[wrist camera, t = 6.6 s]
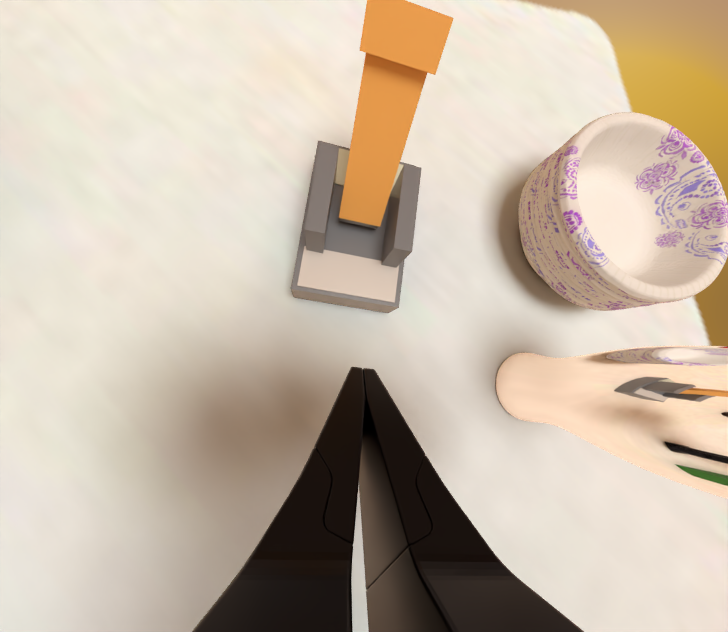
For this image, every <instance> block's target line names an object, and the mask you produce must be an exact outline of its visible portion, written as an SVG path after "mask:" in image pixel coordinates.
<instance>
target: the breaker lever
mask: <svg viewBox="0 0 728 632" xmlns="http://www.w3.org/2000/svg"><path fill="white" fill-rule="evenodd" d="M452 21H453V18H452V17H449V16H447V15H444V14H441V13H438V12H436V11H433V10H430V9H427V8H424V7H422V6H419V5H416V4H413V3H411V2H408V1H405V0H367V5H366V12H365V19H364V25H363V32H362V38H361V45H360V51H363V52H366V56H365V62H364V68H363V74H362V80H361V86H360V92H359V98H358V104H357V110H356V116H355V122H354V128H353V134H352V140H351V146H350V153H349V159H348V165H347V171H346V177H345V183H344V189H343V195H342V201H341V207H340V213H339V218H340V221H343V222H348V223H352V224H357V225H361V226H366V227H371V228H375V229H377V228H378V226H379V227H380V225H381V222H382V219H383V215H384V212H385V209H386V206H387V202H388V199H389V196H390V193H391V189H392V186H393V183H394V179H395V176H396V173H397V170H398V166H399V163H400V160H401V157H402V153H403V150H404V147H405V144H406V140H407V137H408V134H409V130H410V127H411V124H412V121H413V117H414V114H415V111H416V108H417V104H418V101H419V98H420V94H421V91H422V88H423V85H424V81H425V78H426V75H427V72H428V73H431V74H434V75H435V74H436V71H437V68H438V64H439V61H440V58H441V55H442V52H443V49H444V46H445V43H446V40H447V37H448V34H449V31H450V27H451V24H452Z"/></svg>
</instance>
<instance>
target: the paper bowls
mask: <svg viewBox="0 0 728 632" xmlns="http://www.w3.org/2000/svg"><path fill="white" fill-rule="evenodd" d="M520 198H521V200H520V202H519V210H518V211H519V215H518V217H519V229H520V234H521V243H522V247H523V251H524V253H525V256H526V258H527V260H528V262H529V263H530V265H531V266H532V268H533V269H534V270H535V271H536V273H537V274H538V275H539V276H540V277H541V278H543V279H544V281H545V282H546V283H547V284H548V285H549V286H550V287H551V288H552V289H553V290H554V291H555V292H556V293H557V294H559V295H561V296H562V297H563V298H564V299H566V300H568V301H569V302H571V303H574V304H577V305H579V306H582V307H585V308H589V309H594V310H602V311H609V310H619V309H626V308H632V307H640V306H649V305H653V304H657V303H665V302H674V301H679V300H683V299H686V298H689V297H691V296H693V295H695V294H697V293H699V292H700V291H702V290H704V289H705V288H706V287H708V285H710V284H711V283H712V282H713V281H714V280H715V278H716V277H717V276H718V274H719V273H720V271H721V269H722V268H723V266H724V264H725V261H726V258H727V256H728V204H727V200H726V196H725V194H724V191H723V188H722V185H721V183H720V181H719V179H718V177H717V174H716V173H715V171H714V170H713V168H712V166H711V164H710V163H709V161H708V160H707V158H706V157H705V156H704V155H703V153H702V152H701V151H700V150H699V149H698V148H697V146H696V145H695V144H694V143H693V142H692V141H691V140H690V139H689V138H688V137H686V135H684V134H683V133H682V132H681V131H679V130H677V129H676V128H674V127H673V126H671V125H670V124H668V123H666V122H664V121H662V120H659V119H656V118H653V117H650V116H648V115H644V114H639V113H632V112H623V113H615V114H610V115H606V116H603V117H601V118H598V119H596V120H594V121H592V122H590V123H589V124H587V125H586V126H584V127H583V128H582V129H581V130H580V131H579V132H578V133H577V134H575V135H574V136H573V137H572V138H571V139H570V140H568V141H567V142H566V143H565V144H564V145H563V146H562V147H561V148H559V149H558V150H557V151H556V152H555V153H553V154H552V155H550V156H549V157H548V158H547V159H545V160H544V161H543V162H542V163H541V164H540V165H539V166H538V167H537V168H535V169H534V170H533V172H532V173H531V174H530V176H529V178H528V180H527V182H526V183H525V185H524V187H523V190H522V194H521V197H520Z"/></svg>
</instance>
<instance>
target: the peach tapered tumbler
mask: <svg viewBox="0 0 728 632" xmlns="http://www.w3.org/2000/svg"><path fill="white" fill-rule="evenodd" d="M496 391H497V396H498V398H499V401H500V403H501V405H502V406H503V408H504V409H505V410H506V411H507V412H508V413H509V414H510V415H512V416H513V417H515V418H517V419H520V420H523V421H529V422H540V423H547V424H551V425H554V426H557V427H560V428H562V429H564V430H566V431H568V432H570V433H572V434H574V435H576V436H578V437H580V438H582V439H584V440H586V441H587V442H589V443H591V444H593V445H595V446H597V447H599V448H601V449H603V450H605V451H607V452H609V453H610V454H612V455H614V456H617V457H619V458H621V459H623V460H625V461H627V462H629V463H631V464H634V465H636V466H638V467H640V468H642V469H644V470H647V471H650V472H652V473H655V474H657V475H660V476H662V477H665V478H668V479H670V480H673V481H675V482H678V483H681V484H684V485H687V486H690V487H692V488H695V489H698V490H701V491H704V492H707V493H710V494H713V495H716V496H719V497H722V498H726V499H728V347H726V346H650V347H636V348H627V349H618V350H611V351H605V352H598V353H592V354H586V355H580V356H574V357H567V358H551V357H546V356H541V355H537V354H533V353H525V352H523V353H517V354H514V355H512V356H510V357H508V358H507V359H506V360H505V361H504V362H503V363H502V365H501V366H500V368H499V370H498V373H497V377H496Z"/></svg>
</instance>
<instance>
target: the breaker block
mask: <svg viewBox="0 0 728 632" xmlns="http://www.w3.org/2000/svg"><path fill="white" fill-rule="evenodd" d="M349 153H350V149H349V148H345V147H341V146H337V145H333V144H330V143H326V142H322V141H318V145H317V150H316V156H315V161H314V167H313V172H312V178H311V183H310V188H309V194H308V199H307V205H306V210H305V216H304V221H303V226H302V232H301V237H300V243H299V248H298V254H297V259H296V264H295V270H294V275H293V281H292V286H291V290H292V293H293V295H294V297H295V298H301V299H307V300H313V301H319V302H325V303H331V304H337V305H343V306H349V307H355V308H361V309H367V310H373V311H379V312H385V313H389V312H391V311H393V310H395V309H397V308H399V301H400V292H401V284H402V275H403V267H404V259H405V258H406V257H407V256H408V255H409V254H410V253H411V252H412V246H413V237H414V228H415V219H416V211H417V202H418V193H419V184H420V176H421V168H419V167H416V166H414V165H410V164H406V163H402V162H400V163H399V166H398V170H397V173H396V176H395V179H394V183H393V186H392V189H391V193H390V196H389V199H388V202H387V206H386V209H385V212H384V215H383V219H382V222H381V225H380V227H379V226H378V228H377V229H375V228H371V227H366V226H361V225H357V224H352V223H348V222H343V221H340V218H339V213H340V207H341V201H342V195H343V189H344V183H345V177H346V171H347V165H348V159H349Z"/></svg>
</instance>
